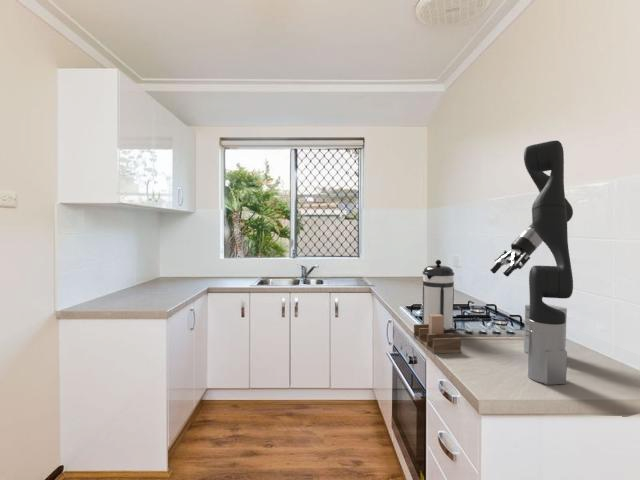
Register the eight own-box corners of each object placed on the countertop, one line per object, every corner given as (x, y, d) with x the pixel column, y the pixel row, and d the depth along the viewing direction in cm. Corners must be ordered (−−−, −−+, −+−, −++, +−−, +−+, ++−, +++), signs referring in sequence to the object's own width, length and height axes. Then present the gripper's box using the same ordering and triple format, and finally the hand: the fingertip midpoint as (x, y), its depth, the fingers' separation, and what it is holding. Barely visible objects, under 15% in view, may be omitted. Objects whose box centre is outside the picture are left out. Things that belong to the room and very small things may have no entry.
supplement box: (546, 360, 132) (547, 310, 132) (522, 351, 141) (523, 304, 140) (566, 356, 136) (567, 307, 135) (542, 348, 145) (543, 302, 144)
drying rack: (460, 352, 140) (461, 338, 140) (433, 353, 139) (433, 339, 139) (437, 336, 160) (437, 323, 160) (413, 336, 159) (413, 324, 159)
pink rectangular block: (443, 342, 148) (443, 316, 148) (431, 342, 148) (432, 316, 147) (440, 340, 151) (440, 314, 151) (428, 340, 151) (428, 314, 150)
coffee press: (462, 336, 160) (463, 261, 159) (422, 335, 162) (423, 261, 160) (452, 324, 177) (453, 257, 176) (416, 323, 179) (417, 257, 178)
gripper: (509, 234, 156) (481, 264, 155) (533, 236, 142) (502, 268, 141) (521, 248, 157) (494, 277, 156) (546, 250, 143) (516, 283, 142)
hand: (498, 273), depth 149 cm, fingers open, 8 cm apart
